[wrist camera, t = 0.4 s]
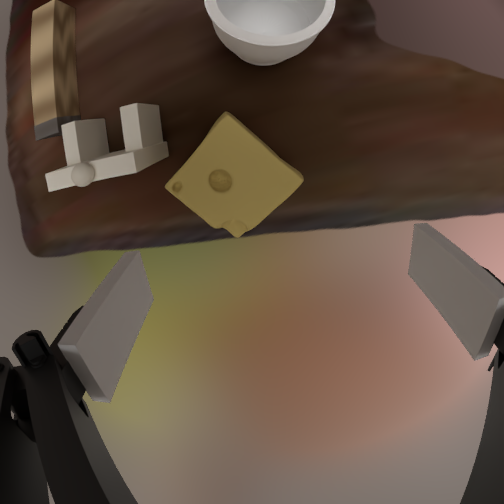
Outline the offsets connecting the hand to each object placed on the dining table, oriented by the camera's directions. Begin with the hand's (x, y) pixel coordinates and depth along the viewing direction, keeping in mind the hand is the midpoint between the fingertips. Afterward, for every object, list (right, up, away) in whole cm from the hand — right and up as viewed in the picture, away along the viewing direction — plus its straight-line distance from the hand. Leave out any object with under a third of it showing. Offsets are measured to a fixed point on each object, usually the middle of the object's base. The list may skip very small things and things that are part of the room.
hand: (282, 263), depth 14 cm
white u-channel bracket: (-18, +15, +22) cm, 32 cm away
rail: (-28, +27, +17) cm, 42 cm away
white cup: (0, +27, +17) cm, 32 cm away
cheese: (-3, +11, +24) cm, 27 cm away
